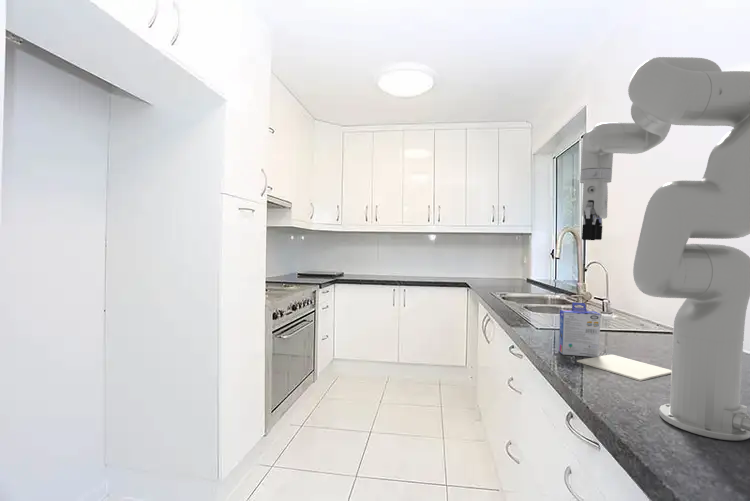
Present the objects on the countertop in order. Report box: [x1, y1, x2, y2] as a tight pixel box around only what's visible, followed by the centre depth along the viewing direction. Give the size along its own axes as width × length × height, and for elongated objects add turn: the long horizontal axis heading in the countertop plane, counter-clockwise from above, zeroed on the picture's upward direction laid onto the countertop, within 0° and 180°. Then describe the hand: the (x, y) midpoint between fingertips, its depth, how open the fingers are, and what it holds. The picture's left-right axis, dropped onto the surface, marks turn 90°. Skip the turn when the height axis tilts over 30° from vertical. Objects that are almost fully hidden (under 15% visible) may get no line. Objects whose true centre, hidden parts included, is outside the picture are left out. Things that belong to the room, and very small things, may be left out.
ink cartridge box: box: [558, 301, 602, 358], centre depth 115 cm, size 10×6×14 cm, turn 78°
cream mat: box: [576, 354, 671, 382], centre depth 104 cm, size 16×15×1 cm
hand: (591, 239), depth 111 cm, fingers open, 9 cm apart
